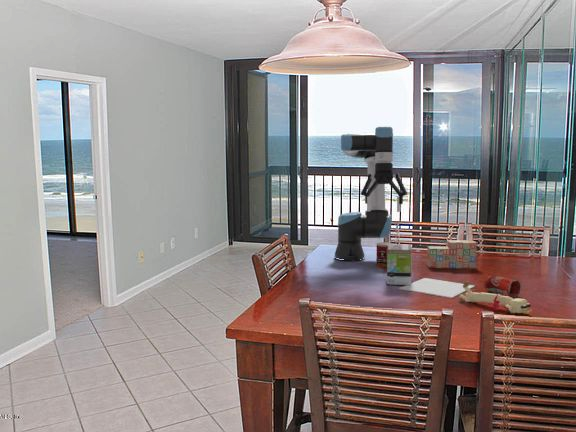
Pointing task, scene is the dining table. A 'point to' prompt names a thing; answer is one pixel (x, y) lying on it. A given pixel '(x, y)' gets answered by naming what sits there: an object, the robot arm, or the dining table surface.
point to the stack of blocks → (453, 255)
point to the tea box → (399, 264)
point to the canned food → (382, 254)
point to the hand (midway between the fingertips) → (383, 211)
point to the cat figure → (496, 300)
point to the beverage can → (502, 286)
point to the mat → (436, 287)
